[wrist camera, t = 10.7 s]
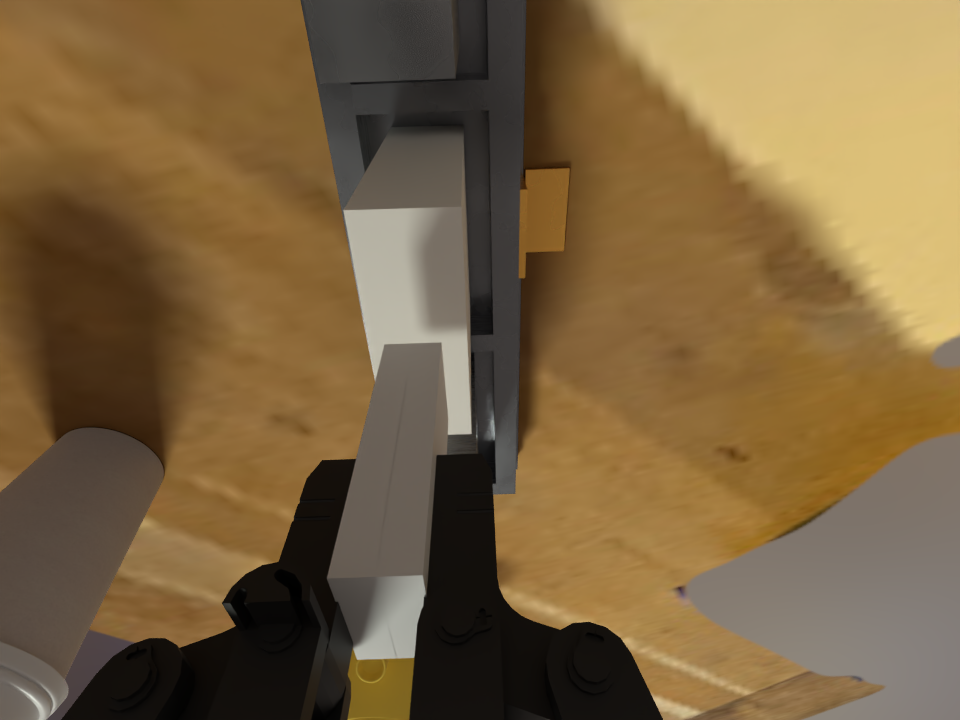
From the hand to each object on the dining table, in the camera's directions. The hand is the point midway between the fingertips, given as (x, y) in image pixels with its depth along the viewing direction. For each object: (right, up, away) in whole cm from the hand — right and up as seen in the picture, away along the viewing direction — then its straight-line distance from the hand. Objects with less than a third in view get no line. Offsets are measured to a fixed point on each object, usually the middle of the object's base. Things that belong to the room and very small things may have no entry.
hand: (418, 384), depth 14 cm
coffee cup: (-23, -6, +20) cm, 31 cm away
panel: (0, +7, +9) cm, 12 cm away
